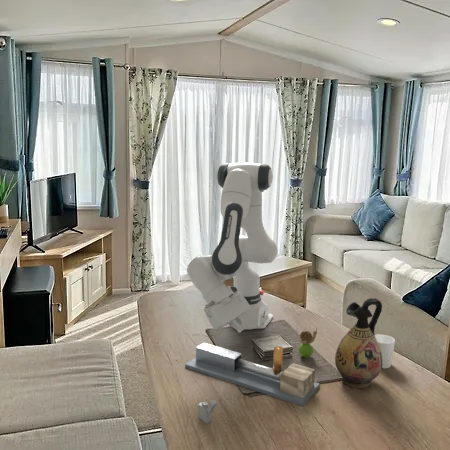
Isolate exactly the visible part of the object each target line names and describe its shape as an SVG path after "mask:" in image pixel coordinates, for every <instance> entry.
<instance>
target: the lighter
mask: <svg viewBox="0 0 450 450" xmlns="http://www.w3.org/2000/svg"><path fill="white" fill-rule="evenodd" d="M217 405H218V402H217V400H216V399H212V400H210V401H209V403H208V402H206V401H205V400H204V401H201V402H199V403H198V407H197V408H198V411H197V412H198V418H199V419H200V420H201V421H202V422H204V424H209V423H212V421H211V420H212V418H211V417H212V413H214V412H215V409H216V407H217Z"/></svg>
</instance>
